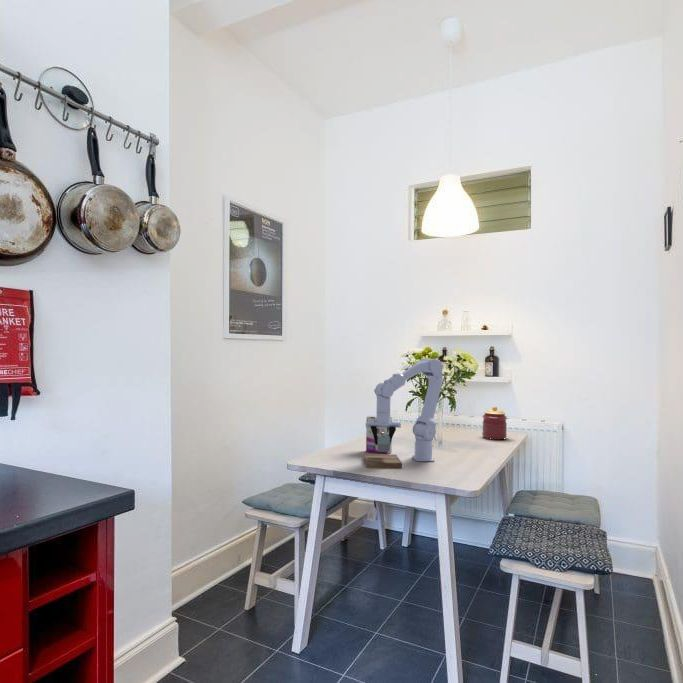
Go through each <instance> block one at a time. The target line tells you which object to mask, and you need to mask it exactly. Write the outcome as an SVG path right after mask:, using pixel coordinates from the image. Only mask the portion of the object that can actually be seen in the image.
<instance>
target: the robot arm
mask: <svg viewBox="0 0 683 683" xmlns="http://www.w3.org/2000/svg"><path fill="white" fill-rule="evenodd" d="M443 368H444V365H443V363H442V362H441V360H440V359H439V358H425V357H423V358H421V359H420V360H417V361H416V362H415V363H413V365H412V366H410V367H409V368H407V369H406V370H405V371H404V372H402V373H393V374H392V376H390V377H389V378H388V379H385V380H383V382H379V383H378V384H377V385H375V388H374V391H373V392H374V394H375V396H376V414H375V416H376V422H367V421H365V428H367V427H370V428H371V430H372V433H373V436H374V440H375V445H377V427H389V436H390V445H391V440H392V441H393V437H394V434H395V432H396V431H397V429H398V428H399V429H400V428H402V426H401V425H402V423H401V422H395V421H392V422H390V417H391V401H392V400H391V399H392V398H391V397H392V396H393V395H394V392H396V391H397V390H399V389H401V388H402V387H403V386H405V385H406V381H408V380H409V379H410V378H412V377H414V376H416V375H418V374H420V373H422V374H423V375H424V376H425V377H426V378H427V380H428V381H429V382H428V386H427V390H426V393H425V396H424V397H425V398H424V401H423V402H424V403H423V406H422V410H421V414H420V415H419V416H418V417H417V418H416V421H415V423H414V424H413V426H412V433H413V435H414V439H415V441H414V455H412V458H413V459H414V461H416V462H435V459H434V458H433V441H434V438H435V437H436V434H437V430H436V427H437V423H436V421H435V419H434V417H435V413H436V410H437V406H438V401H439V396H440V392H441V389H442V385H443V380H444V378H443V370H444V369H443ZM379 425H382V426H379ZM387 425H388V426H387Z"/></svg>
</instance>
